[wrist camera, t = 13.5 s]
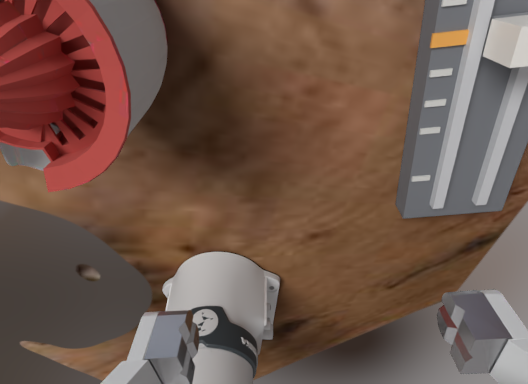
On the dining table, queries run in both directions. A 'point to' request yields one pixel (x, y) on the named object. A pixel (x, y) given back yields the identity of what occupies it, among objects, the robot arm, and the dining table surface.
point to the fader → (507, 40)
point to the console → (462, 115)
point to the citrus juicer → (76, 82)
